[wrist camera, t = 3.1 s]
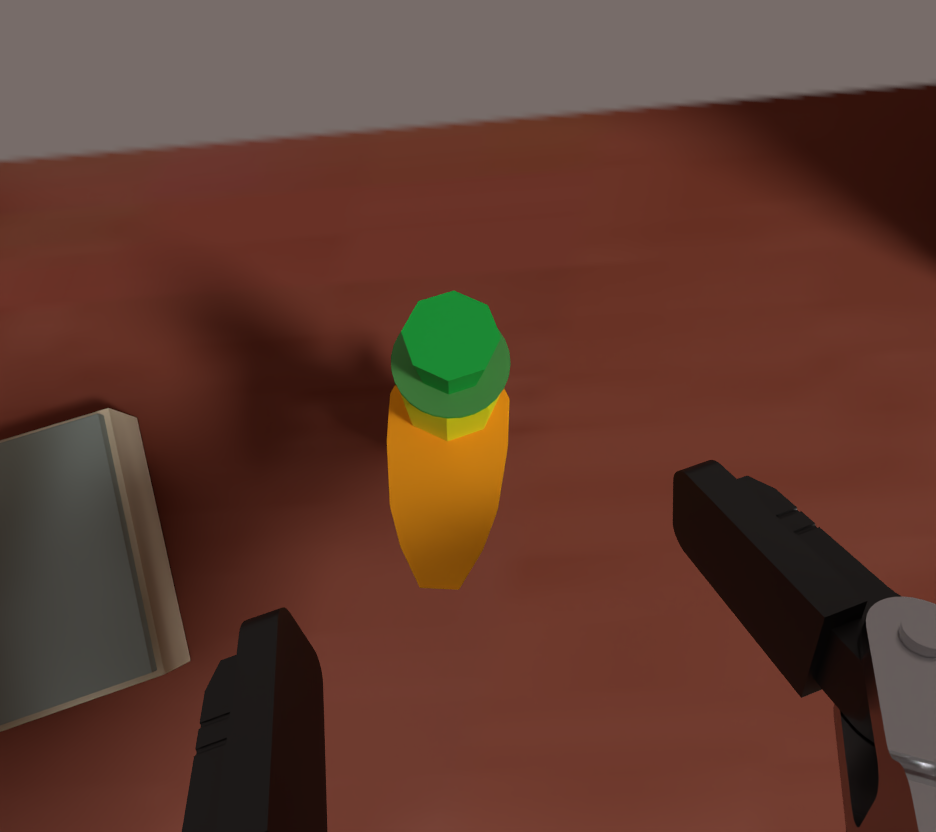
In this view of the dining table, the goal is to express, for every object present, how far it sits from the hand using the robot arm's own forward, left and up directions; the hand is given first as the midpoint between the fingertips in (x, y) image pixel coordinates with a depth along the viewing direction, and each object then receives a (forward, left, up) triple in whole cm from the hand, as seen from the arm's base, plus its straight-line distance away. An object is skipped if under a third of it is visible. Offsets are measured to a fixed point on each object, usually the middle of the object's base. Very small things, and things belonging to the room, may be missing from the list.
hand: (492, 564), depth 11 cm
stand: (+15, -4, -9) cm, 18 cm away
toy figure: (0, -3, -9) cm, 10 cm away
